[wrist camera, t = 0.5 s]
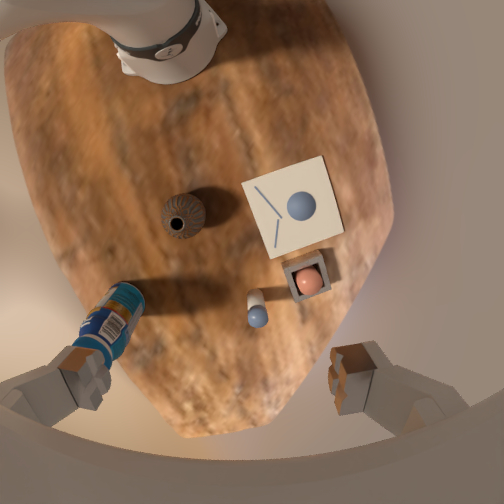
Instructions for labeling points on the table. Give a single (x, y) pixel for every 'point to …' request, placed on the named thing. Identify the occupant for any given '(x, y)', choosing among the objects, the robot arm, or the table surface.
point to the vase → (183, 216)
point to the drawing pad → (294, 206)
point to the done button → (308, 280)
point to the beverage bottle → (112, 322)
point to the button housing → (302, 263)
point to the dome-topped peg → (256, 308)
